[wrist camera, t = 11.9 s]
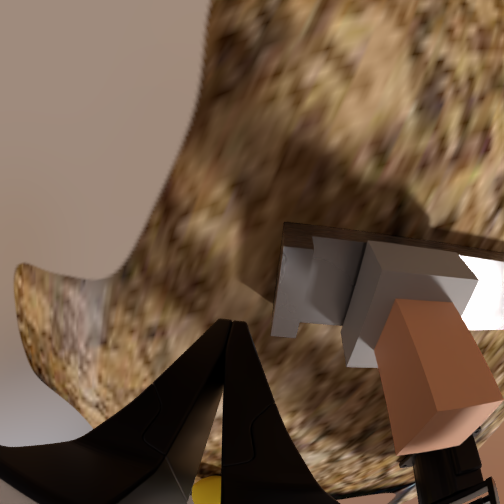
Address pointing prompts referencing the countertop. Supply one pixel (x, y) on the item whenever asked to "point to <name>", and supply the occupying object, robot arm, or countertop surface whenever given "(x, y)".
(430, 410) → the lever
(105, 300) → the countertop surface
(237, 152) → the countertop surface
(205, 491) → the lemon
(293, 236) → the rail
